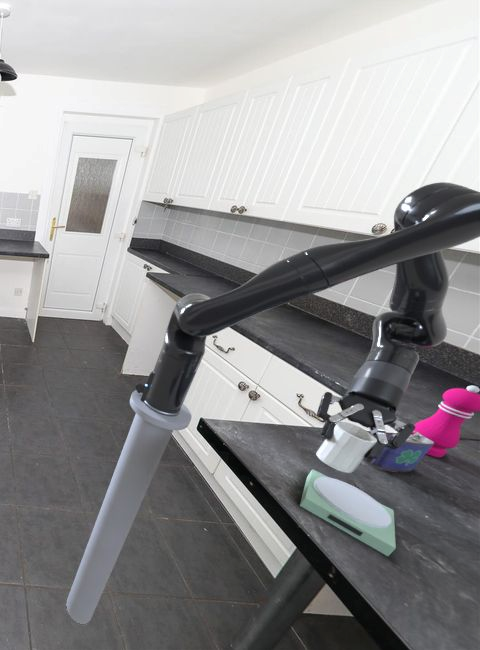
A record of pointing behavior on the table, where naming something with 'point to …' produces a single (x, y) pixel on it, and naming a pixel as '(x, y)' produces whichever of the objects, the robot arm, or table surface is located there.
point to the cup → (346, 447)
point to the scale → (350, 511)
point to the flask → (403, 454)
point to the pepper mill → (449, 419)
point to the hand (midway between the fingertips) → (346, 447)
